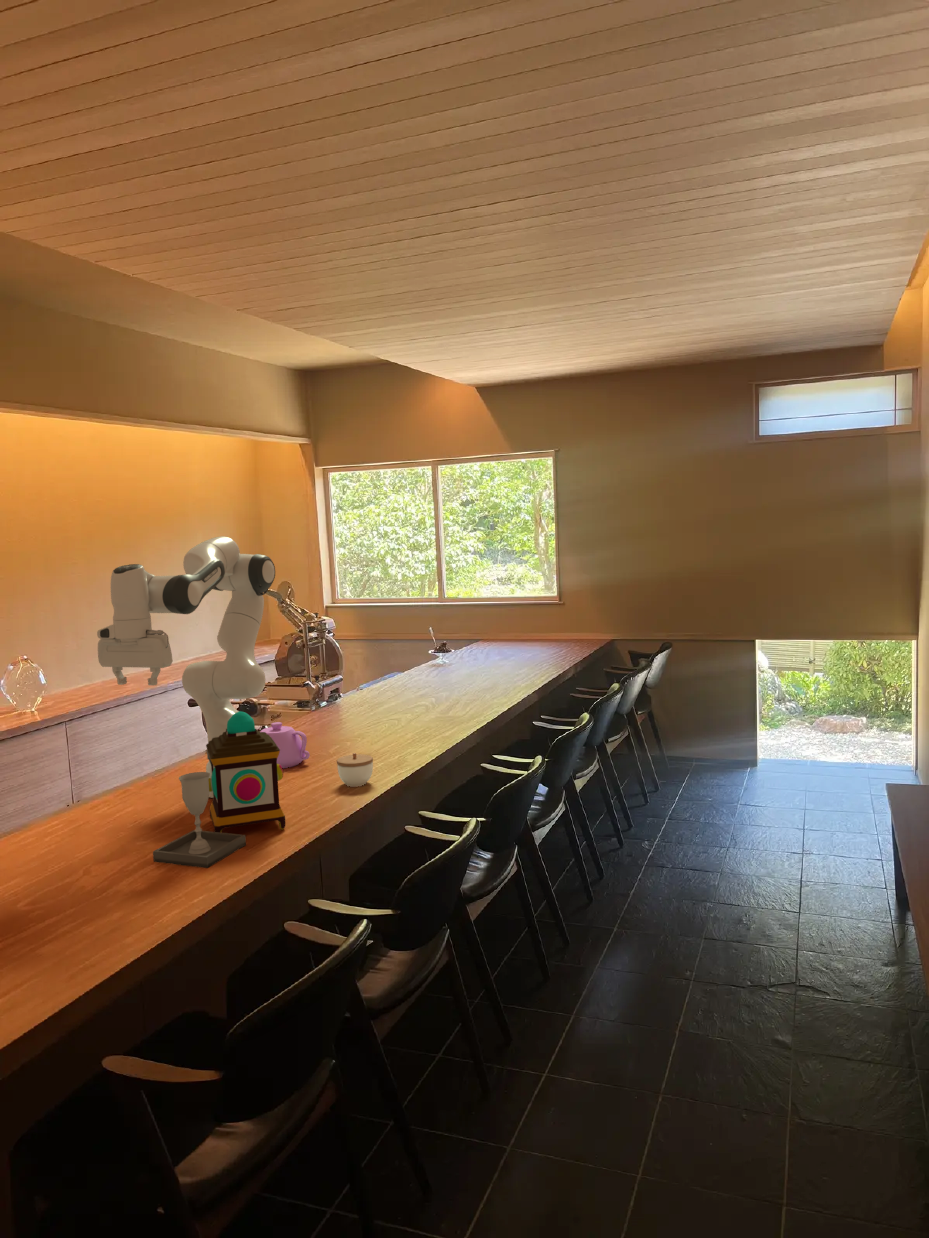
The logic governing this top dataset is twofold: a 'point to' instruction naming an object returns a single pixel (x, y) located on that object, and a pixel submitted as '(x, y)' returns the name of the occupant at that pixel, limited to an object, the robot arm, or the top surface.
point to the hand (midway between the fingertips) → (137, 684)
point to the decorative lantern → (244, 776)
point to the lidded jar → (355, 769)
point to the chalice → (196, 804)
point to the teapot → (288, 744)
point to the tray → (219, 850)
